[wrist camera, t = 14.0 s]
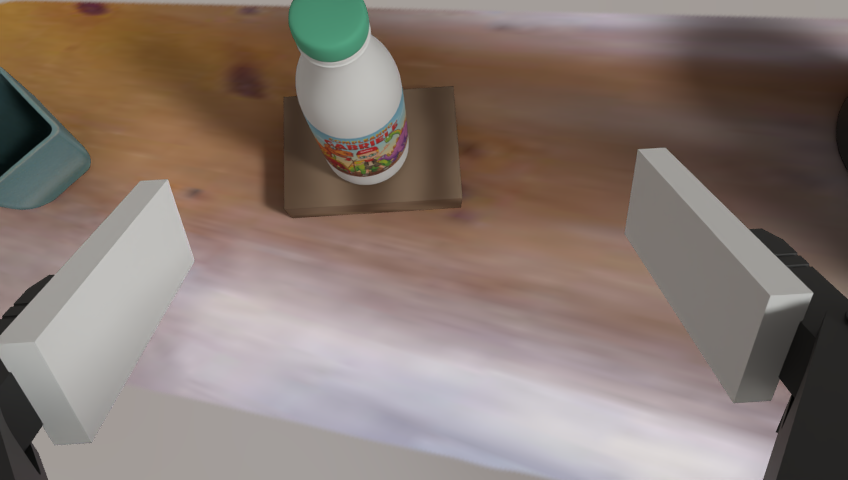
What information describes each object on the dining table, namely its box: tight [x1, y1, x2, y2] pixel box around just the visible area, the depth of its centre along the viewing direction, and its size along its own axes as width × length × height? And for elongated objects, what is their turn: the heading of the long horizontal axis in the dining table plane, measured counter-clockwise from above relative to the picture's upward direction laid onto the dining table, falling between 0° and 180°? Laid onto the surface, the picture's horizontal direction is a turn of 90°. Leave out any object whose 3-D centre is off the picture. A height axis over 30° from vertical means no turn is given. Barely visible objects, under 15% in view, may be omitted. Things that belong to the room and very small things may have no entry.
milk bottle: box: [288, 0, 409, 185], centre depth 42 cm, size 8×8×20 cm
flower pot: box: [0, 67, 91, 210], centre depth 50 cm, size 9×9×9 cm
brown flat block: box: [284, 86, 462, 218], centre depth 53 cm, size 16×11×3 cm
